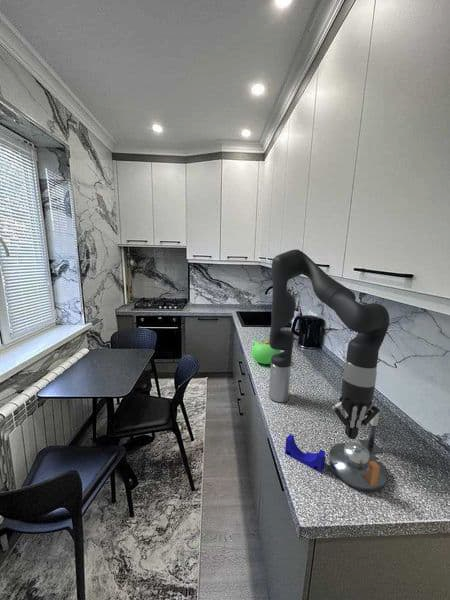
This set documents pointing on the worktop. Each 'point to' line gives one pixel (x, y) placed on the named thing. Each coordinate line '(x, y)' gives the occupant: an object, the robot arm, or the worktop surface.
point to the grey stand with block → (371, 436)
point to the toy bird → (263, 352)
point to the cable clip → (305, 455)
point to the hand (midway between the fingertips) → (350, 437)
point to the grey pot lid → (359, 479)
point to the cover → (356, 455)
